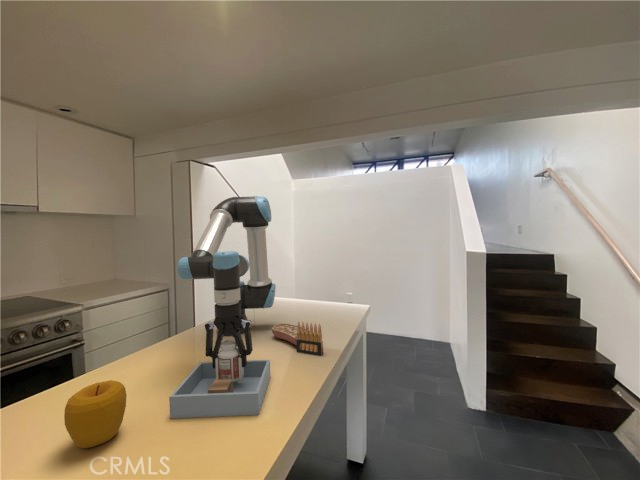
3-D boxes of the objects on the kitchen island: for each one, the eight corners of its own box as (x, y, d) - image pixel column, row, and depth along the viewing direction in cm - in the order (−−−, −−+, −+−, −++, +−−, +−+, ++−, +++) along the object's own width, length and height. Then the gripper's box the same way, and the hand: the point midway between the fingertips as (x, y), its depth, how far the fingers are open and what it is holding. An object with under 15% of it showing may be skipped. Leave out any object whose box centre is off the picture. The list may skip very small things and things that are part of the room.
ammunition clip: (323, 354, 103) (322, 323, 103) (321, 356, 102) (320, 324, 102) (298, 350, 108) (297, 320, 107) (296, 352, 106) (295, 321, 106)
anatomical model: (268, 338, 121) (267, 327, 121) (285, 332, 128) (285, 321, 128) (302, 353, 105) (301, 340, 105) (319, 345, 112) (319, 333, 112)
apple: (76, 469, 54) (73, 406, 54) (58, 447, 60) (55, 390, 60) (136, 434, 64) (134, 380, 63) (116, 418, 69) (114, 369, 69)
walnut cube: (215, 397, 76) (214, 379, 76) (233, 396, 77) (232, 379, 76) (208, 408, 71) (207, 390, 71) (227, 407, 72) (226, 389, 71)
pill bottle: (237, 371, 87) (236, 336, 86) (243, 379, 81) (242, 343, 81) (217, 377, 83) (216, 341, 83) (222, 386, 78) (221, 348, 78)
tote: (200, 379, 88) (200, 362, 87) (270, 376, 88) (269, 359, 88) (170, 418, 69) (169, 396, 69) (258, 414, 69) (258, 393, 69)
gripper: (190, 306, 78) (193, 385, 78) (256, 304, 78) (259, 383, 79) (201, 300, 85) (203, 372, 86) (261, 298, 86) (264, 370, 86)
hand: (230, 377), depth 82 cm, fingers closed on pill bottle, 6 cm apart
